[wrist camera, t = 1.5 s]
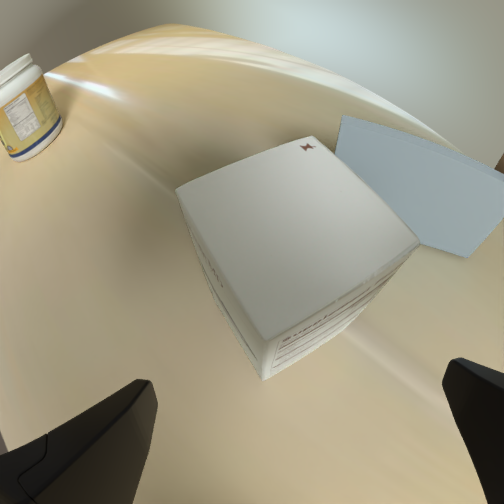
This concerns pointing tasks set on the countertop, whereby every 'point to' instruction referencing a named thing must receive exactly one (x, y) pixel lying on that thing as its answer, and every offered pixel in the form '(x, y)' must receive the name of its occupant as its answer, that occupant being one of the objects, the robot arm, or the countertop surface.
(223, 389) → the countertop surface
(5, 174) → the countertop surface
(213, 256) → the supplement box
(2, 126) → the supplement tub
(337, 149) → the door
